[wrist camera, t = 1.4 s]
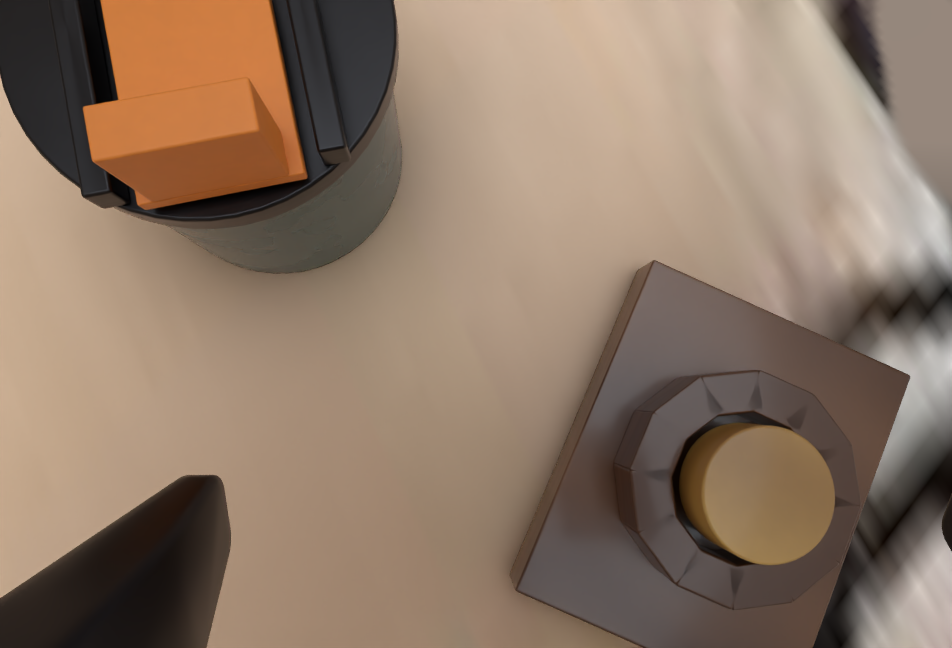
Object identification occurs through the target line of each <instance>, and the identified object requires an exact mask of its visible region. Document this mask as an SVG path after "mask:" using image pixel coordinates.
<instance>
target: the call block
mask: <svg viewBox="0 0 952 648" xmlns="http://www.w3.org/2000/svg"><path fill="white" fill-rule="evenodd" d="M909 379H910V376H909V375H908V374H906V373H904V372H901V371H899V370H897V369H895V368H892V367H890V366H888V365H886V364H884V363H881V362H879V361H877V360H875V359H872V358H870V357H868V356H866V355H864V354H861V353H859V352H857V351H855V350H853V349H850V348H848V347H846V346H844V345H841V344H839V343H837V342H835V341H833V340H830V339H828V338H826V337H824V336H822V335H819V334H817V333H815V332H813V331H810V330H808V329H806V328H804V327H802V326H799V325H797V324H795V323H793V322H791V321H788V320H786V319H784V318H782V317H779V316H777V315H775V314H773V313H771V312H768V311H766V310H764V309H762V308H760V307H757V306H755V305H753V304H751V303H748V302H746V301H744V300H742V299H740V298H737V297H735V296H733V295H731V294H729V293H726V292H724V291H722V290H720V289H717V288H715V287H713V286H711V285H709V284H706V283H704V282H702V281H700V280H697V279H695V278H693V277H691V276H689V275H686V274H684V273H682V272H680V271H678V270H675V269H673V268H671V267H669V266H666V265H664V264H662V263H660V262H658V261H655V260H653V261H652V262H650V263H648V264H647V265H645V266H643V267H642V268H640V269H639V270H638V271H637V273H636V276H635V278H634V280H633V283H632V285H631V287H630V290H629V292H628V295H627V297H626V299H625V302H624V304H623V306H622V309H621V311H620V314H619V316H618V318H617V321H616V323H615V325H614V328H613V330H612V333H611V335H610V337H609V340H608V342H607V344H606V347H605V349H604V352H603V354H602V356H601V359H600V361H599V363H598V366H597V368H596V371H595V373H594V375H593V378H592V380H591V382H590V385H589V387H588V390H587V392H586V394H585V397H584V399H583V401H582V404H581V406H580V409H579V411H578V413H577V416H576V418H575V420H574V423H573V425H572V428H571V430H570V432H569V435H568V437H567V439H566V442H565V444H564V447H563V449H562V451H561V454H560V456H559V458H558V461H557V463H556V466H555V468H554V470H553V473H552V475H551V477H550V480H549V482H548V485H547V487H546V489H545V492H544V494H543V496H542V499H541V501H540V504H539V506H538V508H537V511H536V513H535V515H534V518H533V520H532V523H531V525H530V527H529V530H528V532H527V534H526V537H525V539H524V542H523V544H522V546H521V549H520V551H519V553H518V556H517V558H516V561H515V563H514V565H513V568H512V570H511V572H510V578H511V580H512V583H513V585H514V588H515V590H516V591H517V592H519V593H522V594H524V595H526V596H528V597H530V598H533V599H535V600H537V601H539V602H542V603H544V604H546V605H548V606H551V607H553V608H555V609H557V610H560V611H562V612H564V613H566V614H569V615H571V616H573V617H575V618H578V619H580V620H582V621H584V622H587V623H589V624H591V625H593V626H596V627H598V628H600V629H602V630H605V631H607V632H609V633H611V634H614V635H616V636H618V637H620V638H623V639H625V640H627V641H629V642H632V643H634V644H636V645H638V646H641V647H643V648H813V645H814V642H815V639H816V637H817V634H818V631H819V628H820V626H821V623H822V620H823V617H824V614H825V612H826V609H827V606H828V603H829V601H830V598H831V595H832V592H833V590H834V587H835V584H836V581H837V578H838V576H839V573H840V570H841V567H842V565H843V562H844V559H845V556H846V554H847V551H848V548H849V545H850V543H851V540H852V537H853V534H854V531H855V529H856V526H857V523H858V520H859V518H860V515H861V512H862V509H863V507H864V504H865V501H866V498H867V495H868V493H869V490H870V487H871V484H872V482H873V479H874V476H875V473H876V471H877V468H878V465H879V462H880V460H881V457H882V454H883V451H884V448H885V446H886V443H887V440H888V437H889V435H890V432H891V429H892V426H893V424H894V421H895V418H896V415H897V412H898V410H899V407H900V404H901V401H902V399H903V396H904V393H905V390H906V388H907V385H908V382H909ZM729 423H750V424H760V425H771V426H778V427H782V428H785V429H788V430H791V431H793V432H795V433H797V434H799V435H800V436H802V437H803V438H805V439H806V440H807V441H809V442H810V443H811V444H812V445H813V446H814V447H815V448H816V449H817V451H818V452H819V453H820V454H821V456H822V457H823V459H824V460H825V462H826V464H827V466H828V468H829V470H830V473H831V476H832V479H833V484H834V491H835V506H834V512H833V516H832V520H831V523H830V525H829V527H828V530H827V532H826V533H825V535H824V537H823V538H822V539H821V541H820V542H819V543H818V544H817V545H816V546H815V547H814V548H813V549H812V550H811V551H810V552H808V553H807V554H806V555H804V556H802V557H800V558H798V559H797V560H794V561H791V562H788V563H785V564H780V565H760V564H756V563H751V562H749V561H746V560H743V559H741V558H739V557H738V556H736V555H734V554H732V553H730V552H728V551H726V550H725V549H723V548H721V547H719V546H717V545H715V544H714V543H712V542H710V541H709V540H707V539H706V538H705V537H703V536H702V535H701V534H700V533H699V532H698V531H697V530H696V529H695V527H694V526H693V525H692V524H691V522H690V520H689V519H688V517H687V515H686V513H685V511H684V508H683V505H682V502H681V498H680V490H679V479H680V472H681V467H682V464H683V461H684V459H685V457H686V455H687V453H688V451H689V450H690V448H691V447H692V445H693V444H694V443H695V442H696V441H697V440H698V439H699V438H700V437H701V436H702V435H703V434H705V433H706V432H708V431H709V430H711V429H713V428H715V427H718V426H721V425H724V424H729Z"/></svg>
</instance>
